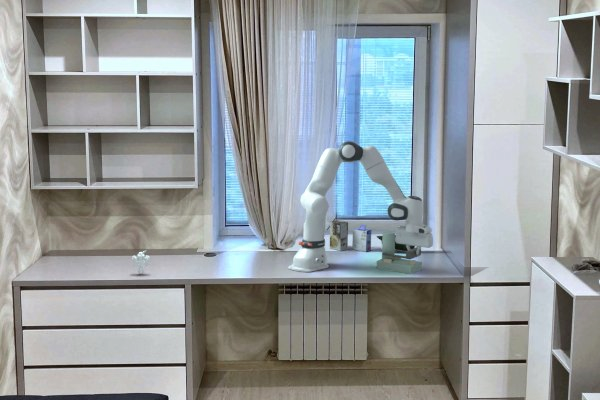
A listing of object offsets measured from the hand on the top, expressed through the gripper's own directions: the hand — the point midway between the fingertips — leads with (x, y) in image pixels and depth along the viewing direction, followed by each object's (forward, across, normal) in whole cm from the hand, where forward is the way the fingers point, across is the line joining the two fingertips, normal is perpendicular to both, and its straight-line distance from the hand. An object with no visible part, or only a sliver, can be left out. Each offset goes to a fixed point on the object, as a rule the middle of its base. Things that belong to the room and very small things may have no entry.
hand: (413, 253), depth 398 cm
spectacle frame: (+2, -7, 0) cm, 7 cm away
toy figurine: (+10, -26, +33) cm, 44 cm away
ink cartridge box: (+9, -46, +25) cm, 53 cm away
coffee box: (+9, -58, +19) cm, 62 cm away
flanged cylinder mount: (+9, -8, 0) cm, 12 cm away
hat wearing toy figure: (+9, -108, -88) cm, 140 cm away
